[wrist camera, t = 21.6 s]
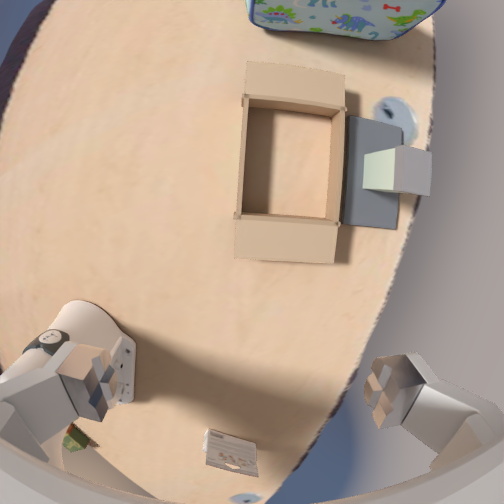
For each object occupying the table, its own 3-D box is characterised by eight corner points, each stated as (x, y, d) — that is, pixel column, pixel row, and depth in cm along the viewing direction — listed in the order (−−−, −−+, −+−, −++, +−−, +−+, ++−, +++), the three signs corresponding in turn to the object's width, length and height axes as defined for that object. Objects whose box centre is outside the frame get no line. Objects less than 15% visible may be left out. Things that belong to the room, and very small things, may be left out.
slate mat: (392, 228, 40) (395, 229, 39) (341, 223, 39) (343, 223, 38) (398, 128, 36) (401, 127, 35) (347, 116, 36) (349, 115, 35)
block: (386, 192, 38) (429, 196, 27) (362, 189, 37) (401, 191, 27) (388, 158, 36) (431, 152, 26) (364, 153, 36) (404, 144, 25)
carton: (45, 395, 46) (37, 405, 42) (90, 439, 49) (85, 450, 45) (34, 402, 47) (26, 412, 43) (76, 443, 50) (71, 453, 46)
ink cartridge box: (251, 448, 50) (252, 482, 40) (203, 433, 48) (199, 468, 38) (256, 442, 49) (259, 477, 40) (208, 427, 48) (205, 463, 38)
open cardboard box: (327, 256, 40) (335, 263, 36) (232, 251, 40) (231, 258, 36) (337, 84, 35) (346, 75, 31) (244, 72, 34) (244, 61, 30)
